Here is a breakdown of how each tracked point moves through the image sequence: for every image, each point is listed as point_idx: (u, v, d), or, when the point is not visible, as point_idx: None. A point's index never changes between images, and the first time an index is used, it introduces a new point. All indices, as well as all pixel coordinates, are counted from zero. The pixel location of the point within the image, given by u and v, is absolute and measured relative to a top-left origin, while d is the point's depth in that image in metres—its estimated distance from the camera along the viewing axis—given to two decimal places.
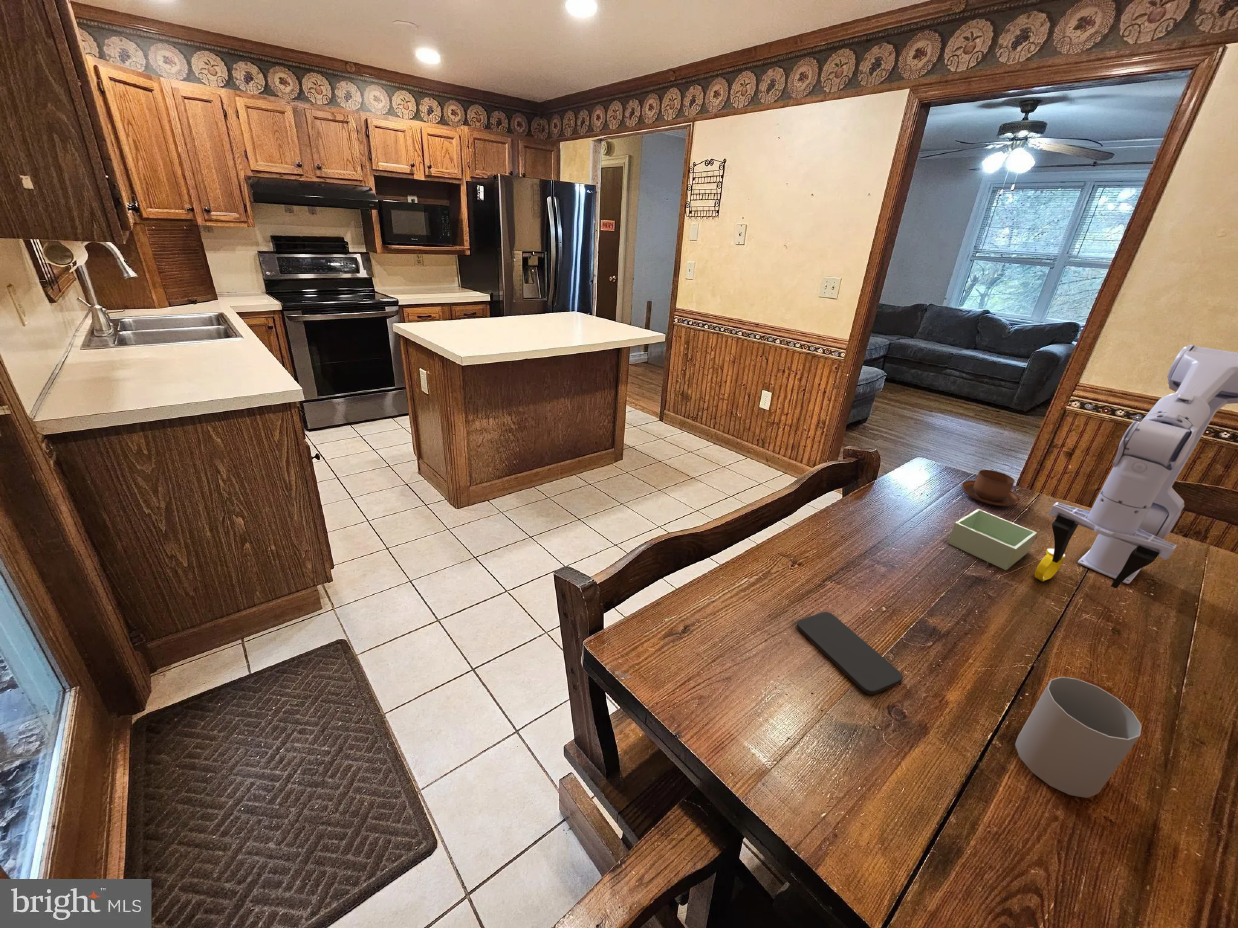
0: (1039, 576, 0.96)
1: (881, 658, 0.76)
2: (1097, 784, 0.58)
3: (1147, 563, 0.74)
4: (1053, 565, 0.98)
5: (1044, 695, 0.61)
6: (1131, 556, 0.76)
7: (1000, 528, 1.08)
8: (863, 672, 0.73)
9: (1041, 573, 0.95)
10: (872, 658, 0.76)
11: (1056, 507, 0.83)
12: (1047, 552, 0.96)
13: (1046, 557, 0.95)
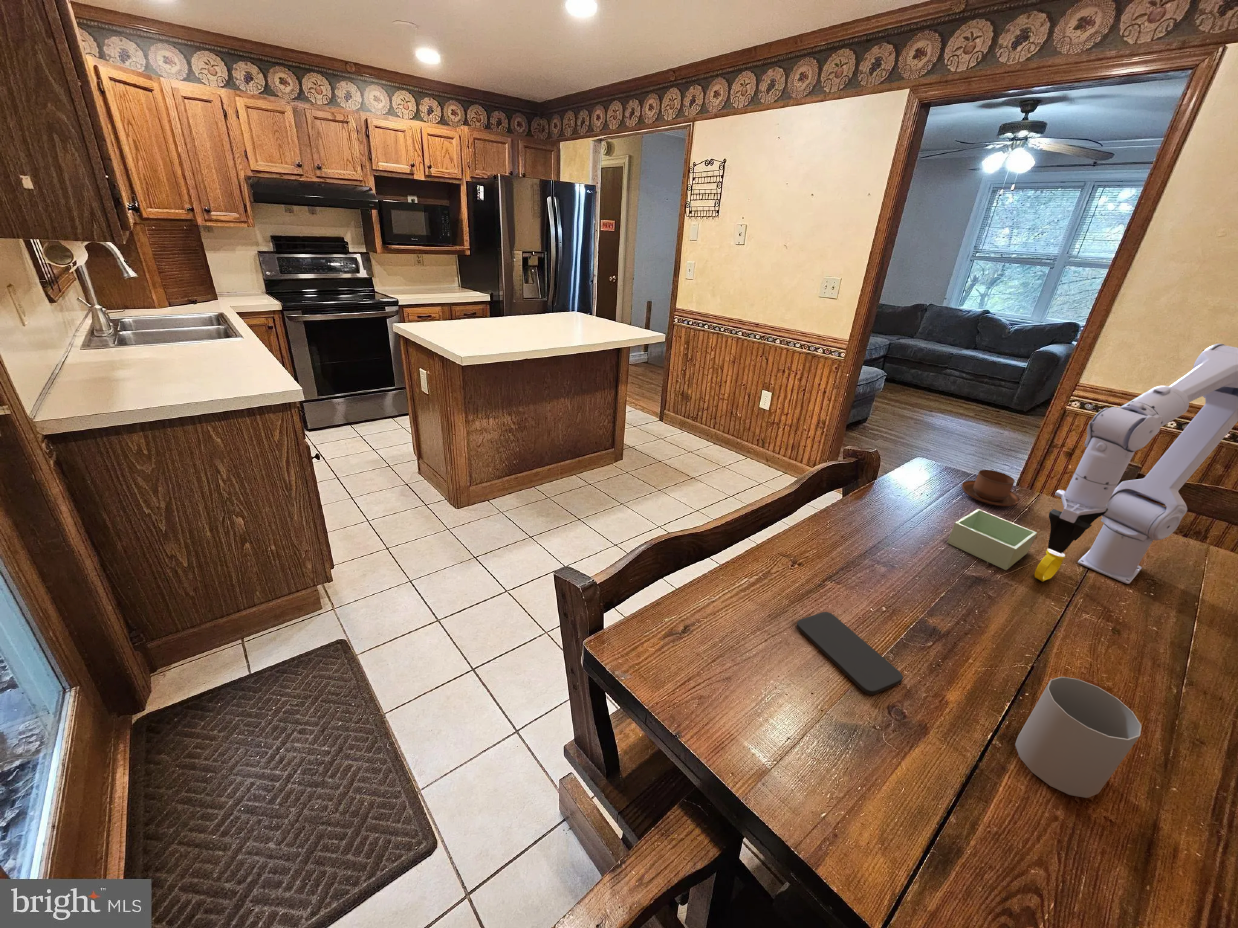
0: (1038, 576, 0.96)
1: (881, 658, 0.76)
2: (1097, 784, 0.58)
3: (1049, 516, 0.89)
4: (1053, 565, 0.98)
5: (1044, 695, 0.61)
6: None
7: (1000, 528, 1.08)
8: (863, 672, 0.73)
9: (1041, 573, 0.95)
10: (872, 658, 0.76)
11: None
12: (1047, 552, 0.96)
13: (1046, 557, 0.95)
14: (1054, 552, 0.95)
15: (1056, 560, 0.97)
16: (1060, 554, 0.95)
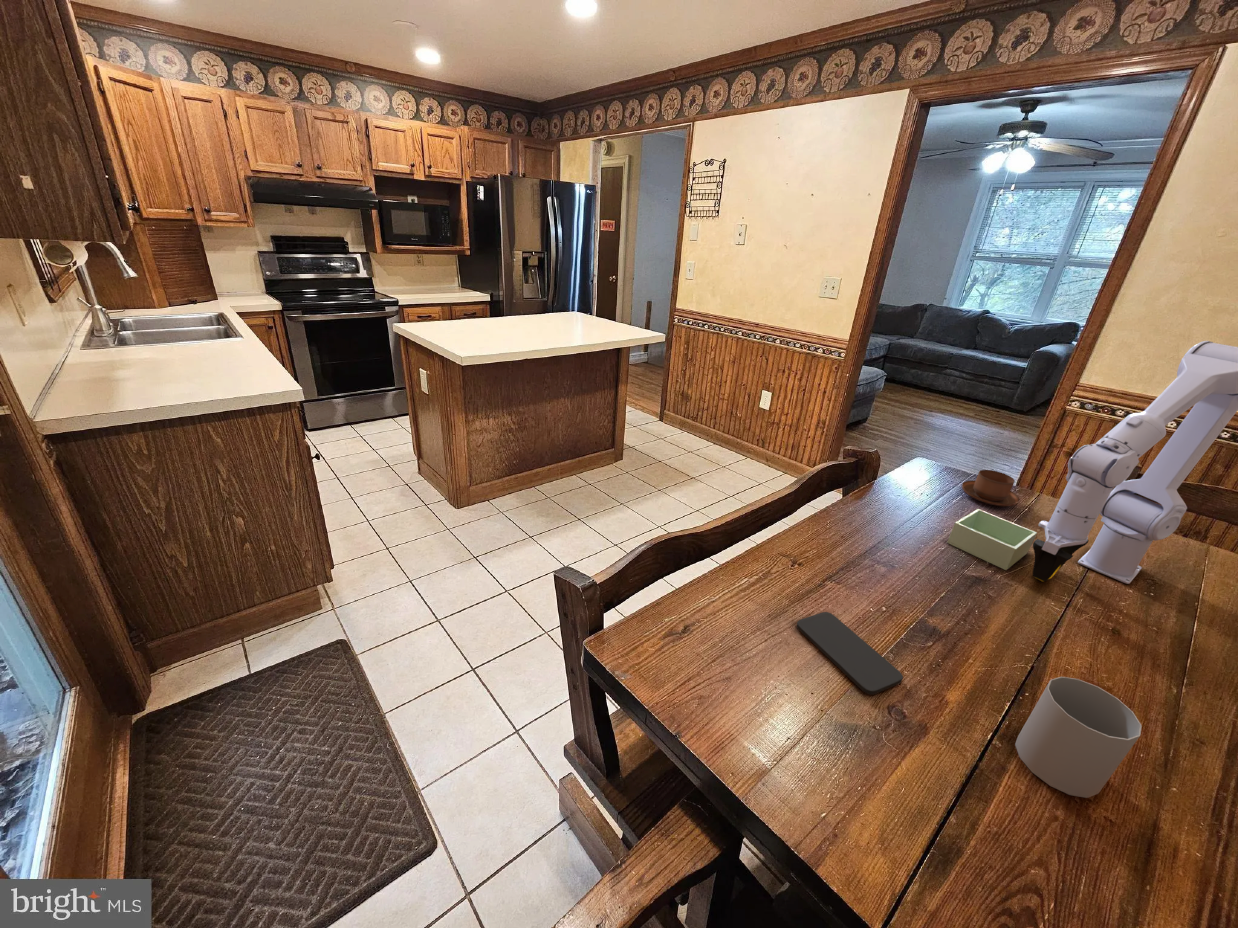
0: None
1: (881, 658, 0.76)
2: (1097, 784, 0.58)
3: (1033, 546, 0.93)
4: None
5: (1044, 695, 0.61)
6: None
7: (1000, 528, 1.08)
8: (863, 672, 0.73)
9: None
10: (872, 658, 0.76)
11: None
12: None
13: None
14: None
15: None
16: None
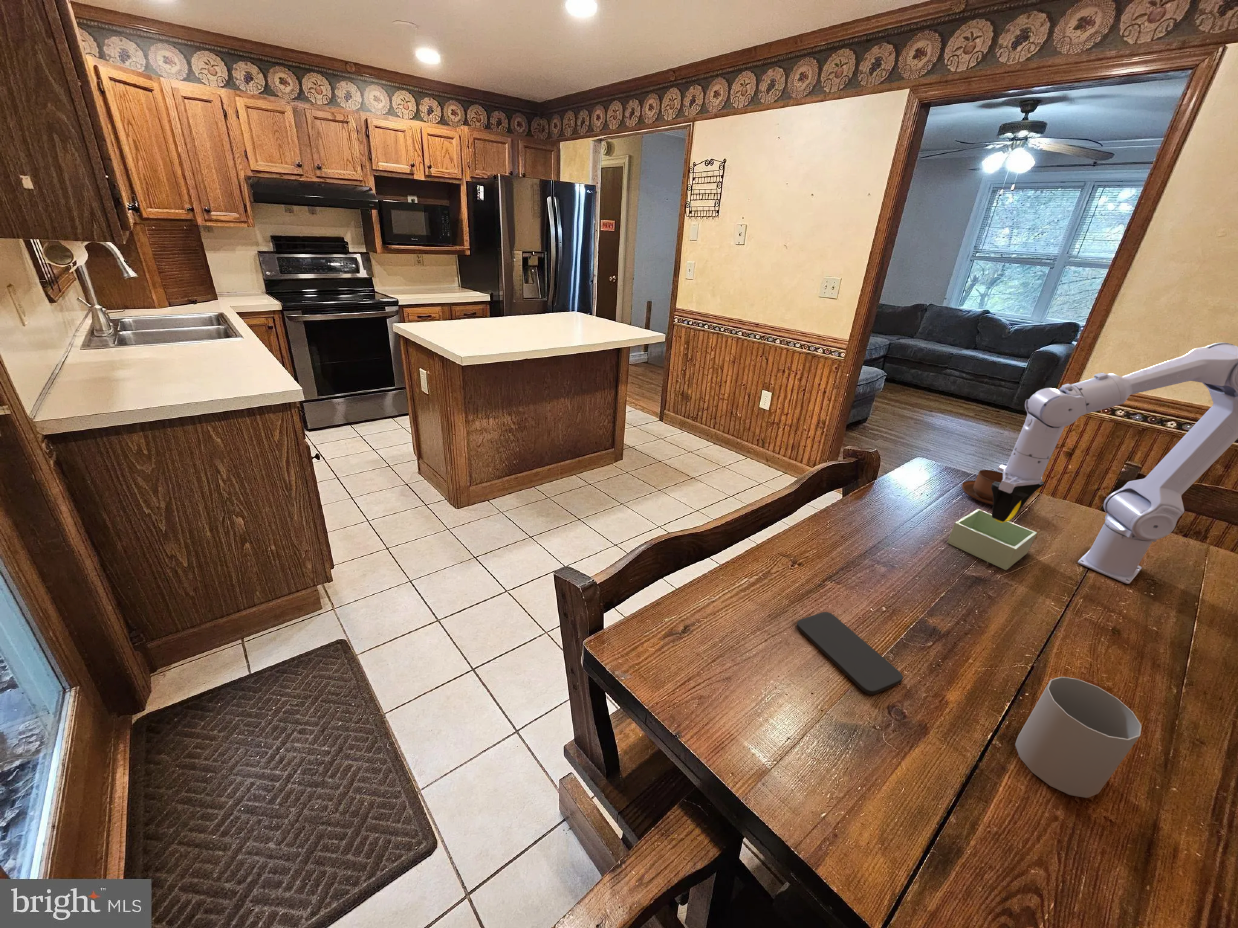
0: None
1: (881, 658, 0.76)
2: (1097, 784, 0.58)
3: (991, 487, 0.98)
4: None
5: (1044, 695, 0.61)
6: None
7: (1000, 528, 1.08)
8: (863, 672, 0.73)
9: None
10: (872, 658, 0.76)
11: None
12: None
13: None
14: None
15: None
16: None
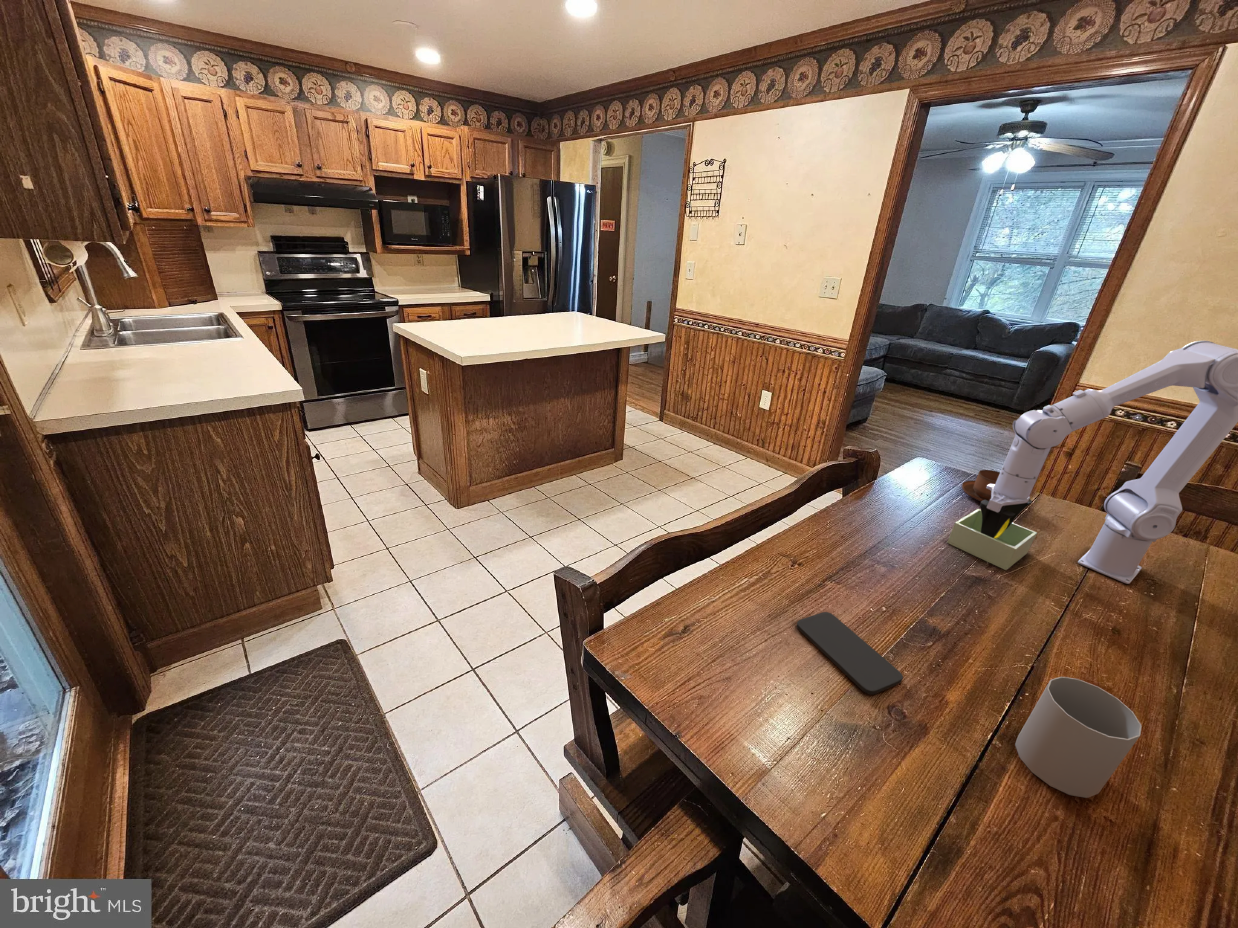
0: None
1: (881, 658, 0.76)
2: (1097, 784, 0.58)
3: (980, 506, 1.01)
4: None
5: (1044, 695, 0.61)
6: None
7: None
8: (863, 672, 0.73)
9: None
10: (872, 658, 0.76)
11: None
12: None
13: None
14: None
15: None
16: None
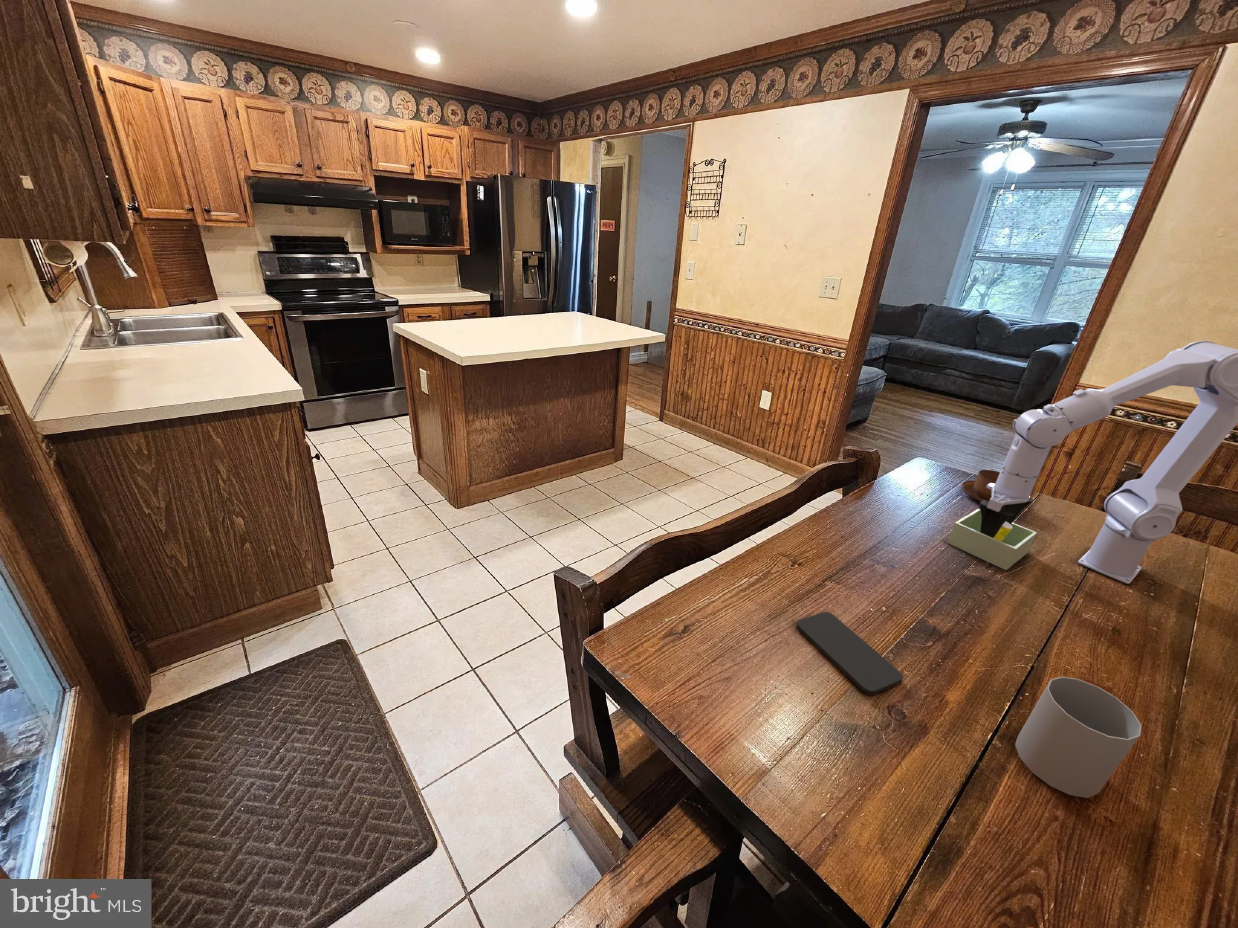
0: None
1: (881, 658, 0.76)
2: (1097, 784, 0.58)
3: (979, 506, 1.01)
4: (1000, 534, 1.06)
5: (1044, 695, 0.61)
6: None
7: None
8: (863, 672, 0.73)
9: None
10: (872, 658, 0.76)
11: None
12: None
13: None
14: (1003, 524, 1.03)
15: (1003, 530, 1.05)
16: (1007, 526, 1.02)
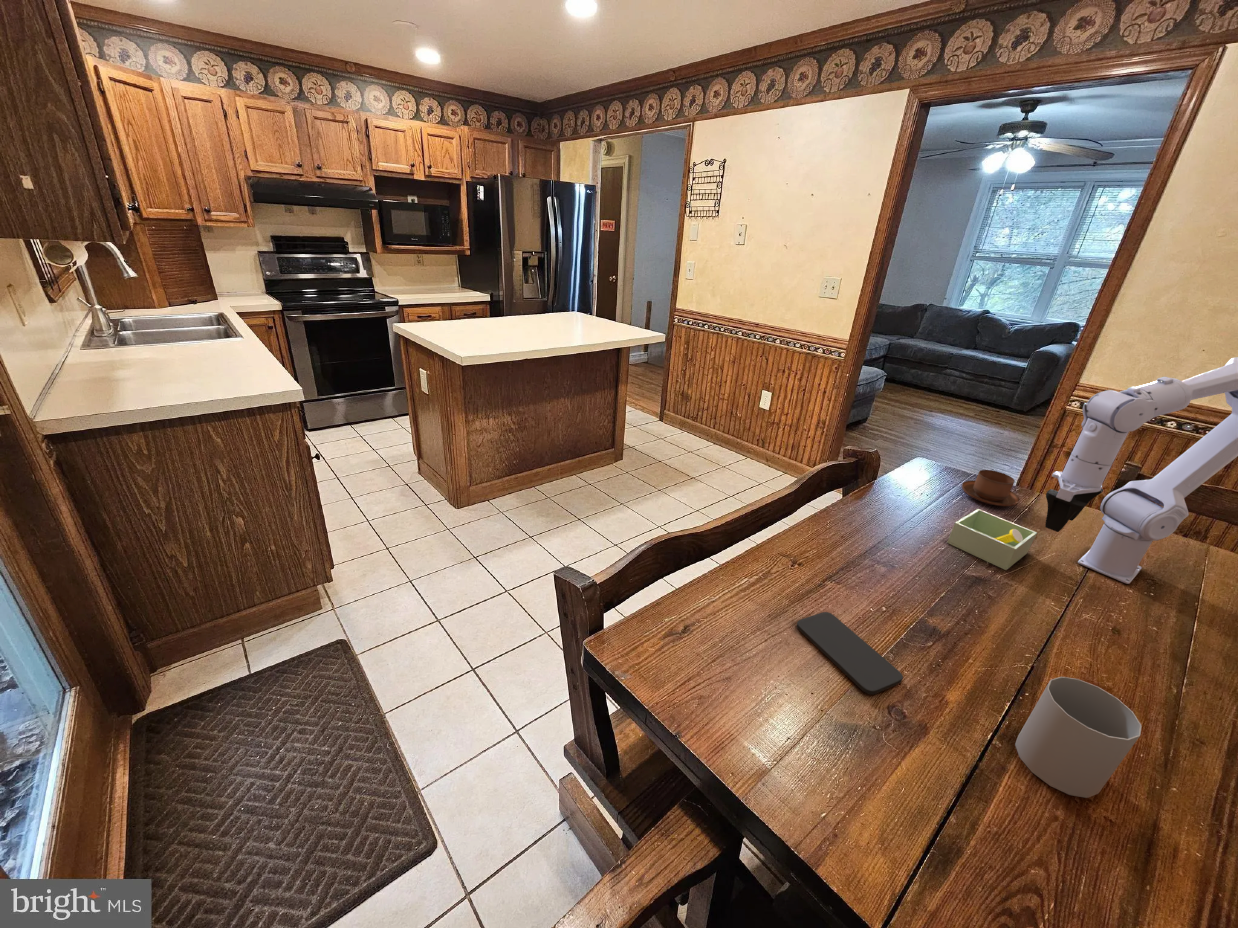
0: None
1: (881, 658, 0.76)
2: (1097, 784, 0.58)
3: (1046, 495, 0.93)
4: None
5: (1044, 695, 0.61)
6: None
7: (1000, 528, 1.08)
8: (863, 672, 0.73)
9: None
10: (872, 658, 0.76)
11: None
12: (1010, 532, 1.01)
13: (1006, 537, 1.01)
14: (1016, 535, 1.01)
15: None
16: (1018, 539, 1.01)
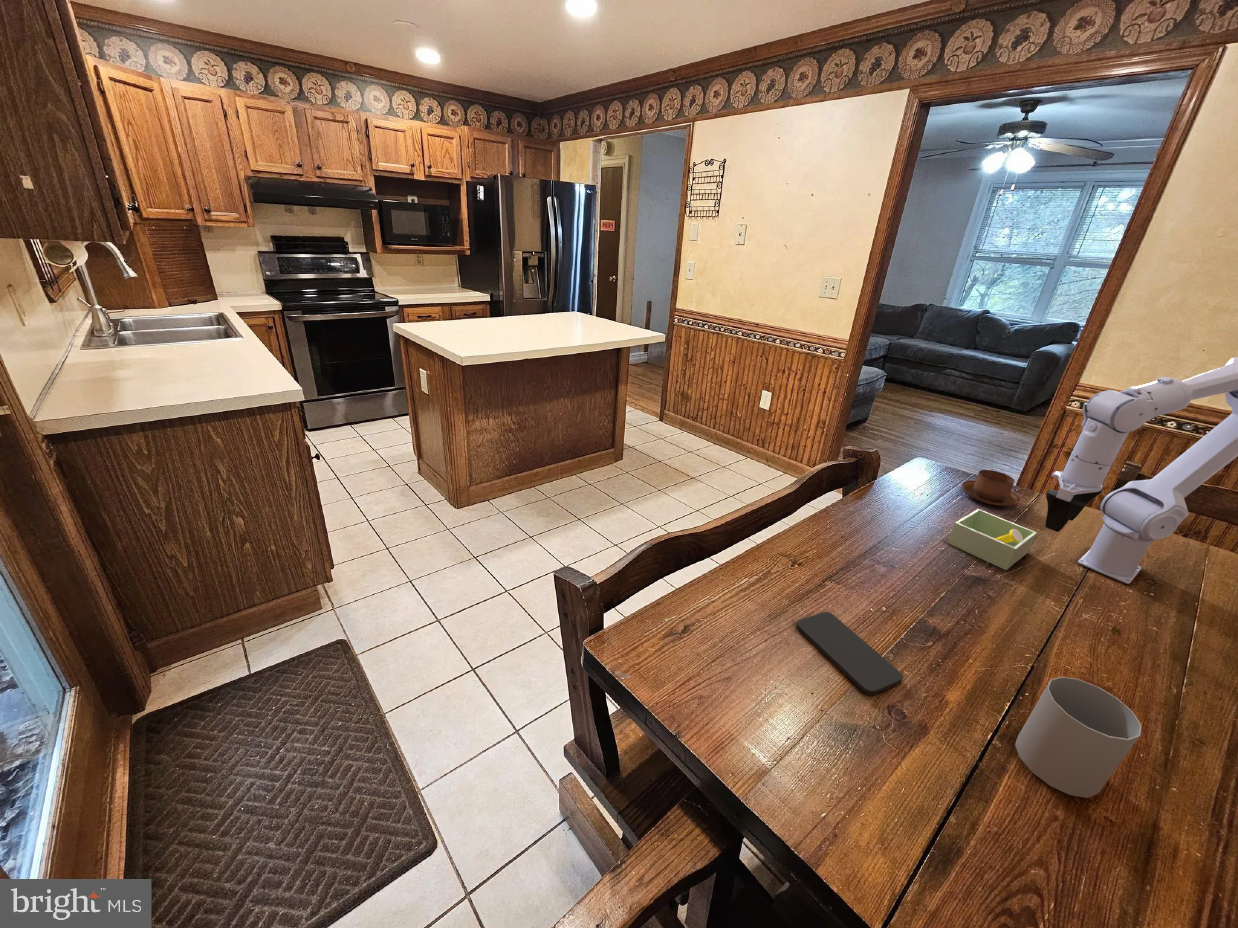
0: None
1: (881, 658, 0.76)
2: (1097, 784, 0.58)
3: (1046, 495, 0.93)
4: None
5: (1044, 695, 0.61)
6: None
7: (1000, 528, 1.08)
8: (863, 672, 0.73)
9: None
10: (872, 658, 0.76)
11: None
12: (1010, 532, 1.01)
13: (1006, 537, 1.01)
14: (1016, 535, 1.01)
15: None
16: (1018, 539, 1.01)
